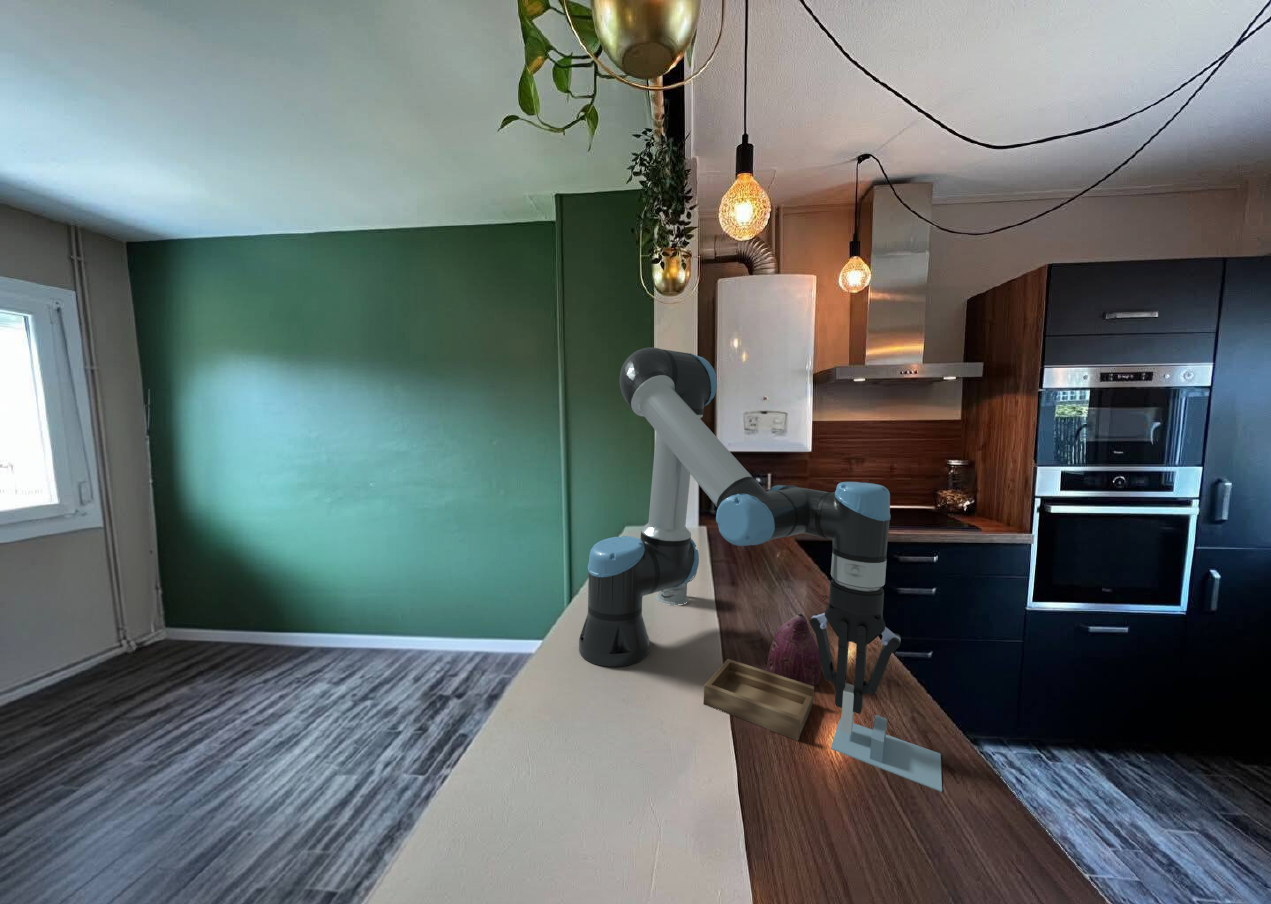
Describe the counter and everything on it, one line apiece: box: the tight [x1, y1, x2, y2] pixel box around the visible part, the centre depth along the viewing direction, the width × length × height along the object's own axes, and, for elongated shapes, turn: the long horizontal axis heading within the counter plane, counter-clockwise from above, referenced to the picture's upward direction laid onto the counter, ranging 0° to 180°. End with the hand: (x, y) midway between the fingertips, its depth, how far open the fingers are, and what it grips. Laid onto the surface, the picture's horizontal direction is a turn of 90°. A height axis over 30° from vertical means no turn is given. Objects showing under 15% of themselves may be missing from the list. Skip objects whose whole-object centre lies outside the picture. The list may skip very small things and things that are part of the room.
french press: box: [655, 570, 698, 605], centre depth 125 cm, size 10×12×25 cm
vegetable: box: [766, 612, 822, 687], centre depth 87 cm, size 10×10×15 cm
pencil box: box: [703, 658, 815, 742], centre depth 79 cm, size 16×11×3 cm
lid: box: [830, 714, 943, 793], centre depth 68 cm, size 14×8×4 cm, turn 57°
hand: (846, 727), depth 71 cm, fingers closed
